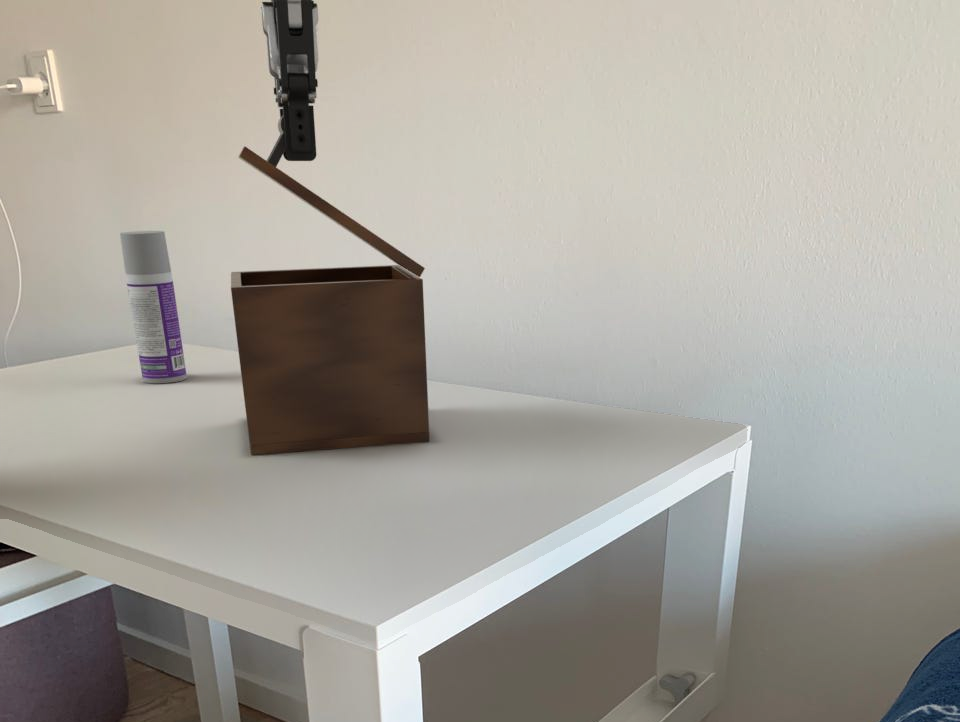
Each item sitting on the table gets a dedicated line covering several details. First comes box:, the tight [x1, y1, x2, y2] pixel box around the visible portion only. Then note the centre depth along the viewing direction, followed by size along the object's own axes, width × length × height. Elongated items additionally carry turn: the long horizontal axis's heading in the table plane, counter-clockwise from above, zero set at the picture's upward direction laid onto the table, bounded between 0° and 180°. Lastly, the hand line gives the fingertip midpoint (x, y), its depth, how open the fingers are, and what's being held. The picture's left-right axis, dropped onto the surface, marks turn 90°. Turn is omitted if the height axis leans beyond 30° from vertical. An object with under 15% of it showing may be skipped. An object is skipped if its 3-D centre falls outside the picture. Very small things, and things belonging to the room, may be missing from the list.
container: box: [119, 230, 188, 384], centre depth 107 cm, size 5×5×15 cm
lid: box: [238, 116, 426, 278], centre depth 80 cm, size 15×13×5 cm
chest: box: [230, 264, 430, 456], centre depth 85 cm, size 15×13×13 cm
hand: (299, 159), depth 78 cm, fingers closed on lid, 5 cm apart
